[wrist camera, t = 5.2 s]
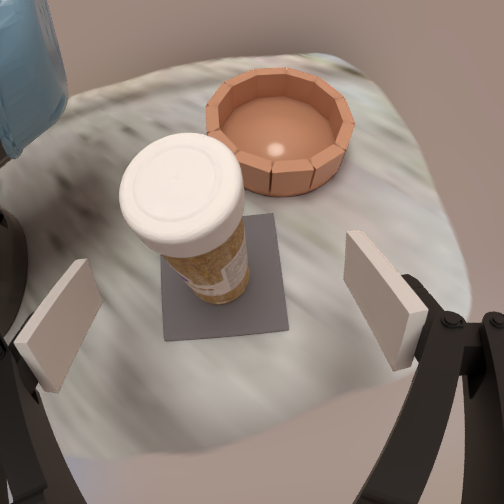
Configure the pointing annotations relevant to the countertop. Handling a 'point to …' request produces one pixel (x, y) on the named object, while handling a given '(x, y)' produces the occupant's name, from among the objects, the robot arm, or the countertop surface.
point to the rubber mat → (239, 310)
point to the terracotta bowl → (281, 129)
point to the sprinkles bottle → (191, 212)
